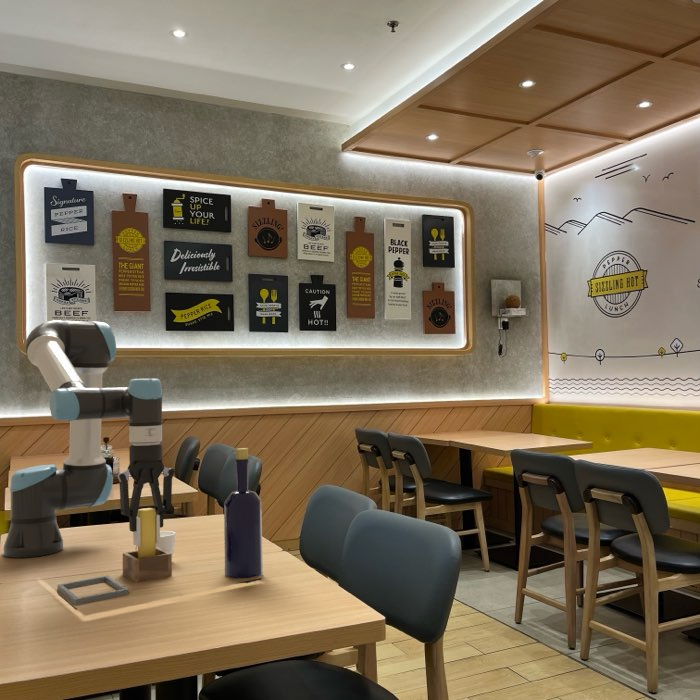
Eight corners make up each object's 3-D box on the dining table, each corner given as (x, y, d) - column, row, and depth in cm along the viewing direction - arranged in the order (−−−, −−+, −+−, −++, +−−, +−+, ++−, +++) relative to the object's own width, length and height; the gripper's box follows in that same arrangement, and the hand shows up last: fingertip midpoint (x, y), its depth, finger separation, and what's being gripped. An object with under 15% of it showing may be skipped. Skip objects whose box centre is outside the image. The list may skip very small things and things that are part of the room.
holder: (122, 578, 165) (122, 553, 165) (157, 572, 170) (157, 547, 170) (135, 586, 158) (135, 559, 158) (171, 579, 163) (171, 553, 163)
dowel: (135, 573, 164) (135, 509, 165) (152, 570, 167) (151, 507, 167) (141, 577, 161) (141, 511, 162) (158, 574, 163) (157, 509, 164)
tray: (57, 593, 154) (57, 584, 154) (107, 584, 160) (107, 575, 160) (75, 609, 142) (75, 599, 142) (128, 598, 149) (128, 589, 149)
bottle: (271, 574, 165) (269, 447, 167) (249, 584, 157) (247, 451, 159) (238, 570, 169) (236, 446, 171) (216, 580, 161) (214, 450, 162)
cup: (177, 567, 173) (176, 535, 174) (135, 572, 170) (134, 538, 171) (175, 561, 180) (175, 529, 180) (134, 565, 177) (134, 533, 177)
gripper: (115, 447, 157) (115, 552, 156) (186, 442, 167) (187, 540, 166) (104, 445, 163) (105, 546, 162) (173, 440, 173) (174, 535, 172)
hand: (146, 543), depth 164 cm, fingers closed on dowel, 4 cm apart
